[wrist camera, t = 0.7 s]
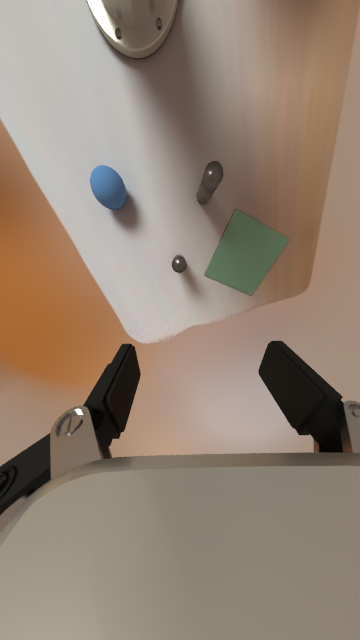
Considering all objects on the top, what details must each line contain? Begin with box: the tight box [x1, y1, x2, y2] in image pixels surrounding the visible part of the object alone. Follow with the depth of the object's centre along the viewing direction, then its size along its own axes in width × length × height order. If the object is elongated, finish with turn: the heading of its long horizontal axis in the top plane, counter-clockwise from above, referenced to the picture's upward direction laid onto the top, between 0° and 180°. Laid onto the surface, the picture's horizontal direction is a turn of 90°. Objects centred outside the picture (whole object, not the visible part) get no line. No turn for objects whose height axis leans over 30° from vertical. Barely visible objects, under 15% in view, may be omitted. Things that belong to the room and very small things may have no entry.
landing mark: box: [205, 209, 289, 296], centre depth 32 cm, size 14×14×1 cm
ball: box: [90, 165, 126, 209], centre depth 24 cm, size 6×6×6 cm
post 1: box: [172, 255, 186, 273], centre depth 28 cm, size 3×3×9 cm
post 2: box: [197, 161, 223, 204], centre depth 23 cm, size 3×3×9 cm
